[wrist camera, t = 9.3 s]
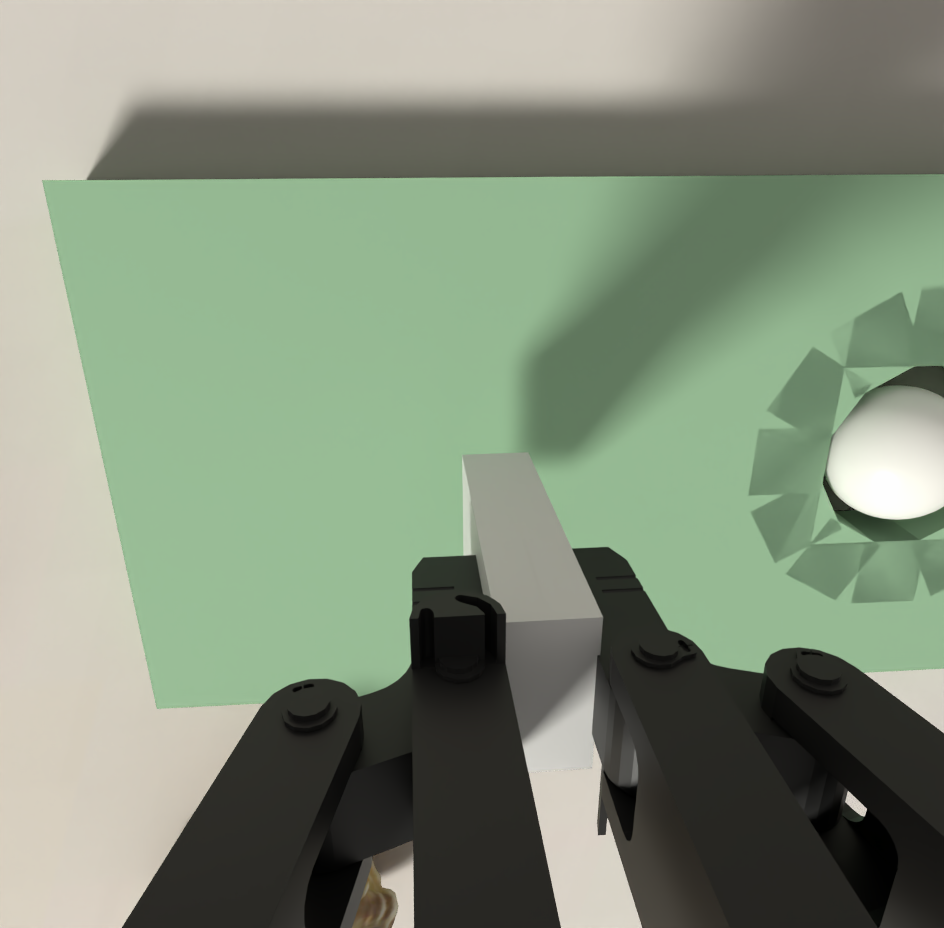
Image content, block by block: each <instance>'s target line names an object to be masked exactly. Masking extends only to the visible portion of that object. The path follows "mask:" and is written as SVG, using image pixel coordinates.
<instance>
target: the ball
mask: <svg viewBox="0 0 944 928" xmlns="http://www.w3.org/2000/svg"><path fill="white" fill-rule="evenodd" d="M824 477H825V479H826V481H827V483H828V485H829V486H830V488H831V489H832V490H833V492H834V493H835V494H836V495H837V496H838V497H839V498H840V499H841V500H842V501H844V502H845V503H846V504H847V505H849V506H850V507H852V508H854V509H855V510H857V511H860V512H862V513H864V514H867V515H870V516H873V517H878V518H883V519H895V520H901V519H911V518H916V517H921V516H924V515H927V514H930V513H932V512H935V511H937V510H939V509H940V508H942V507H944V398H943V397H941V396H940V395H938V394H936V393H934V392H931V391H929V390H926V389H922V388H918V387H913V386H903V385H894V386H884V387H878V388H875V389H872V390H870V391H868V392H866V393H865V394H864V395H863V396H862V398H861V399H860V400H859V402H858V403H857V404H856V406H855V407H854V408H853V409H852V411H851V412H850V413H849V415H848V416H847V417H846V419H845V420H844V421H843V422H842V424H841V425H840V426H839V428H838V429H837V430H836V432H835V433H834V434H833V435H832V437H831V442H830V447H829V452H828V457H827V462H826V468H825V473H824Z"/></svg>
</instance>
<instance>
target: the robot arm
mask: <svg viewBox="0 0 944 928" xmlns="http://www.w3.org/2000/svg"><path fill="white" fill-rule="evenodd" d="M462 484H463V556H444V557H423V558H422V559H421V561H420V562H419V563H418V565H417V566H416V567H415V569H414V570H413V571H412V612H411V615H410V618H409V626H410V647H411V664H410V666H409V668H408V670H407V671H406V673H405V674H404V675H403V676H402V677H401V678H399V679H398V680H397V681H396V682H394V683H392V684H391V685H389V686H388V687H386V688H383V689H381V690H378V691H376V692H373V693H370V694H366V695H363V696H360V697H358V695H357V693H356V691H355V690H353V689H352V688H351V687H349V686H348V685H346V684H345V683H343V682H339V681H335V680H331V679H307V680H304V681H300V682H296V683H293V684H289V685H288V686H286V687H284V688H282V689H281V690H279V691H277V692H275V693H274V694H272V695H271V696H270V698H269V699H268V700H267V701H266V702H265V703H264V704H263V705H262V706H261V708H260V709H259V711H258V712H257V714H256V715H255V717H254V719H253V720H252V722H251V723H250V725H249V727H248V728H247V730H246V731H245V733H244V735H243V736H242V738H241V739H240V741H239V742H238V744H237V746H236V747H235V749H234V750H233V752H232V754H231V755H230V757H229V758H228V760H227V762H226V763H225V765H224V766H223V768H222V769H221V771H220V773H219V774H218V776H217V777H216V779H215V781H214V782H213V784H212V785H211V787H210V789H209V790H208V792H207V793H206V795H205V796H204V798H203V800H202V801H201V803H200V804H199V806H198V808H197V809H196V811H195V812H194V814H193V816H192V817H191V819H190V820H189V822H188V823H187V825H186V827H185V828H184V830H183V831H182V833H181V835H180V836H179V838H178V839H177V841H176V843H175V844H174V846H173V847H172V849H171V850H170V852H169V854H168V855H167V857H166V858H165V860H164V862H163V863H162V865H161V866H160V868H159V870H158V871H157V873H156V874H155V876H154V877H153V879H152V881H151V882H150V884H149V885H148V887H147V889H146V890H145V892H144V893H143V895H142V897H141V898H140V900H139V901H138V903H137V904H136V906H135V908H134V909H133V911H132V912H131V914H130V916H129V917H128V919H127V920H126V922H125V924H124V925H123V927H122V928H352V926H353V923H354V920H355V917H356V913H357V910H358V907H359V904H360V901H361V898H362V895H363V891H364V888H365V885H366V882H367V879H368V876H369V873H370V870H371V866H372V857H373V856H374V855H376V854H379V853H381V852H384V851H386V850H389V849H392V848H394V847H397V846H399V845H402V844H404V843H407V842H409V841H412V840H413V854H414V928H561V926H560V921H559V917H558V912H557V907H556V902H555V898H554V893H553V888H552V883H551V878H550V874H549V869H548V864H547V859H546V854H545V850H544V845H543V840H542V835H541V831H540V826H539V821H538V816H537V811H536V807H535V802H534V797H533V792H532V788H531V783H530V778H529V773H533V772H547V771H561V770H575V769H589V768H592V763H593V749H594V742H595V745H596V748H597V751H598V754H599V757H600V760H601V763H602V769H601V782H600V794H599V807H598V819H597V825H598V835H606V823H607V818H608V820H609V823H610V826H611V829H612V832H613V835H614V839H615V842H616V845H617V848H618V851H619V855H620V858H621V861H622V864H623V867H624V871H625V874H626V877H627V880H628V883H629V886H630V890H631V893H632V896H633V899H634V902H635V906H636V909H637V912H638V915H639V918H640V921H641V925H642V928H944V733H943V732H941V731H940V730H939V729H937V728H936V727H935V726H933V725H932V724H931V723H929V722H928V721H927V720H925V719H924V718H923V717H921V716H920V715H919V714H917V713H916V712H915V711H913V710H912V709H911V708H909V707H908V706H907V705H905V704H904V703H903V702H901V701H900V700H899V699H897V698H896V697H895V696H893V695H892V694H891V693H890V692H888V691H887V690H886V689H884V688H883V687H882V686H880V685H879V684H878V683H876V682H875V681H874V680H872V679H871V678H870V677H868V676H867V675H866V674H864V673H863V672H862V671H860V670H859V669H858V668H856V667H855V666H853V665H851V664H850V663H848V662H846V661H845V660H843V659H841V658H839V657H837V656H834V655H832V654H829V653H826V652H823V651H820V650H815V649H809V648H801V647H797V648H786V649H781V650H779V651H777V652H775V653H772V654H770V656H769V658H768V659H767V661H766V663H765V667H764V672H763V673H758V672H751V671H745V670H738V669H732V668H726V667H722V666H717V665H714V664H711V663H710V662H709V660H708V659H707V657H706V656H705V654H704V653H703V651H702V650H701V649H700V648H699V647H698V646H697V645H696V644H695V643H694V642H693V641H692V640H690V639H688V638H687V637H685V636H683V635H681V634H679V633H677V632H673V631H670V630H668V629H667V627H666V625H665V624H664V622H663V620H662V619H661V617H660V615H659V614H658V612H657V610H656V609H655V607H654V605H653V603H652V602H651V600H650V598H649V597H648V595H647V593H646V592H645V591H643V586H642V585H641V583H640V581H639V580H638V578H636V575H635V573H634V571H633V569H632V568H631V566H630V564H629V563H628V561H627V560H626V559H625V558H624V557H622V556H621V555H619V554H618V553H616V552H615V551H613V550H612V549H611V548H609V547H594V548H571V546H570V543H569V541H568V539H567V537H566V535H565V532H564V530H563V528H562V526H561V524H560V521H559V519H558V517H557V515H556V513H555V510H554V508H553V506H552V504H551V502H550V499H549V497H548V495H547V493H546V491H545V488H544V486H543V484H542V482H541V480H540V477H539V475H538V473H537V471H536V469H535V466H534V464H533V462H532V460H531V458H530V455H529V453H528V452H524V453H497V454H469V455H462ZM848 791H849V792H850V793H851V794H852V795H853V796H854V797H855V798H856V799H858V800H859V801H860V802H861V803H862V804H863V805H864V806H865V807H866V808H867V812H866V815H865V817H863V816H860V815H859V814H858V813H857V812H855V811H854V810H853V809H852V808H851V807H850V806H849V805H848V804H846V803H845V800H846V796H847V792H848Z"/></svg>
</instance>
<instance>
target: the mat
mask: <svg viewBox="0 0 944 928" xmlns="http://www.w3.org/2000/svg"><path fill="white" fill-rule="evenodd" d="M42 182H43V186H44V191H45V196H46V200H47V205H48V209H49V214H50V219H51V223H52V228H53V232H54V237H55V242H56V246H57V251H58V255H59V260H60V265H61V269H62V274H63V278H64V283H65V288H66V292H67V297H68V301H69V306H70V311H71V315H72V320H73V324H74V329H75V334H76V338H77V343H78V347H79V352H80V357H81V361H82V366H83V371H84V375H85V380H86V384H87V389H88V394H89V398H90V403H91V407H92V412H93V417H94V421H95V426H96V430H97V435H98V440H99V444H100V449H101V453H102V458H103V463H104V467H105V472H106V476H107V481H108V486H109V490H110V495H111V499H112V504H113V509H114V513H115V518H116V522H117V527H118V532H119V536H120V541H121V545H122V550H123V555H124V559H125V564H126V568H127V573H128V578H129V582H130V587H131V592H132V596H133V601H134V605H135V610H136V615H137V619H138V624H139V628H140V633H141V638H142V642H143V647H144V651H145V656H146V661H147V665H148V670H149V674H150V679H151V684H152V688H153V693H154V697H155V702H156V707H157V709H162V708H182V707H201V706H221V705H240V704H260V703H265V702H266V701H267V700H268V699H269V698H270V696H271V695H272V694H274V693H275V692H277V691H279V690H281V689H282V688H284V687H286V686H288V685H289V684H293V683H296V682H300V681H304V680H307V679H331V680H335V681H339V682H343V683H345V684H346V685H348V686H349V687H351V688H352V689H353V690H355V691H356V693H357V695H358V697H360V696H363V695H366V694H370V693H373V692H376V691H378V690H381V689H383V688H386V687H388V686H389V685H391V684H392V683H394V682H396V681H397V680H398V679H399V678H401V677H402V676H403V675H404V674H405V673H406V671H407V670H408V668H409V666H410V664H411V647H410V626H409V618H410V615H411V612H412V571H413V570H414V569H415V567H416V566H417V565H418V563H419V562H420V561H421V559H422V558H423V557H444V556H463V484H462V455H469V454H497V453H524V452H528V453H529V455H530V458H531V460H532V462H533V464H534V466H535V469H536V471H537V473H538V475H539V477H540V480H541V482H542V484H543V486H544V488H545V491H546V493H547V495H548V497H549V499H550V502H551V504H552V506H553V508H554V510H555V513H556V515H557V517H558V519H559V521H560V524H561V526H562V528H563V530H564V532H565V535H566V537H567V539H568V541H569V543H570V546H571V548H594V547H609V548H611V549H612V550H613V551H615V552H616V553H618V554H619V555H621V556H622V557H624V558H625V559H626V560H627V561H628V563H629V564H630V566H631V568H632V569H633V571H634V573H635V575H636V578H638V580H639V581H640V583H641V585H642V586H643V591H645V592H646V593H647V595H648V597H649V598H650V600H651V602H652V603H653V605H654V607H655V609H656V610H657V612H658V614H659V615H660V617H661V619H662V620H663V622H664V624H665V625H666V627H667V629H668V630H670V631H673V632H677V633H679V634H681V635H683V636H685V637H687V638H688V639H690V640H692V641H693V642H694V643H695V644H696V645H697V646H698V647H699V648H700V649H701V650H702V651H703V653H704V654H705V656H706V657H707V659H708V660H709V662H710V663H711V664H714V665H717V666H722V667H726V668H732V669H738V670H745V671H751V672H758V673H763V672H764V667H765V663H766V661H767V659H768V658H769V656H770V654H772V653H775V652H777V651H779V650H781V649H786V648H797V647H801V648H809V649H815V650H820V651H823V652H826V653H829V654H832V655H834V656H837V657H839V658H841V659H843V660H845V661H846V662H848V663H850V664H851V665H853V666H855V667H856V668H858V669H859V670H860V671H862V672H863V673H865V672H885V671H904V670H924V669H943V668H944V507H942V508H940V509H939V510H937V511H935V512H932V513H930V514H927V515H924V516H921V517H916V518H911V519H901V520H895V519H883V518H878V517H873V516H870V515H867V514H864V513H862V512H860V511H857V510H850V511H834V510H833V508H832V505H831V503H830V501H829V498H828V496H827V494H826V491H825V489H824V487H823V484H822V483H823V478H824V473H825V468H826V462H827V457H828V452H829V447H830V442H831V437H832V435H833V434H834V433H835V432H836V430H837V429H838V428H839V426H840V425H841V424H842V422H843V421H844V420H845V419H846V417H847V416H848V415H849V413H850V412H851V411H852V409H853V408H854V407H855V406H856V404H857V403H858V402H859V400H860V399H861V398H862V396H863V395H864V394H865V393H866V392H868V391H870V390H872V389H874V388H876V387H877V386H879V385H881V384H883V383H885V382H887V381H888V380H890V379H892V378H894V377H896V376H898V375H900V374H901V373H903V372H905V371H907V370H909V369H911V368H913V367H914V366H941V367H943V368H944V174H883V175H742V176H601V177H460V178H319V179H178V180H42Z"/></svg>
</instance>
